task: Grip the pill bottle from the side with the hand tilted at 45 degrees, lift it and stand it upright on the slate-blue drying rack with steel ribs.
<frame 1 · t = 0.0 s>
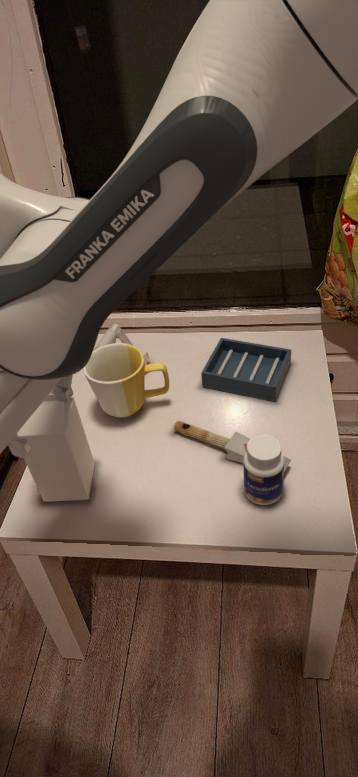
hand: (45, 424, 65), 21 cm above the table, tool pointing down, fingers open, 8 cm apart
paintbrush: (229, 450, 87), on the table
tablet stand: (123, 374, 103), on the table
drying rack: (247, 375, 100), on the table
pill bottle: (263, 491, 81), on the table
milk carton: (70, 483, 85), on the table
mug: (133, 408, 96), on the table
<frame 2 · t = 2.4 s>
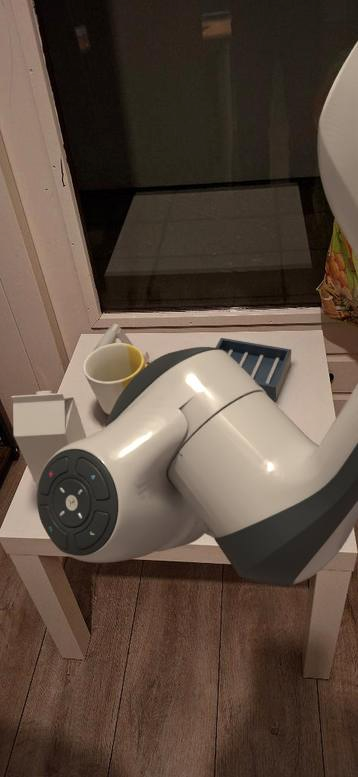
hand: (215, 495, 62), 15 cm above the table, tool tilted 40°, fingers open, 8 cm apart
nothing on the table moved.
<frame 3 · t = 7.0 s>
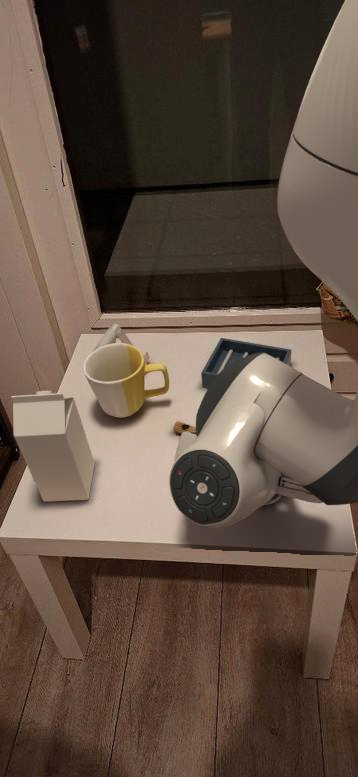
hand: (264, 464, 77), 5 cm above the table, tool tilted 45°, fingers closed on pill bottle, 6 cm apart
pill bottle: (263, 491, 81), on the table, touching gripper
everything else where it was.
when the fingers open (7 cm above the table, at t = 16.0 s): pill bottle stays where it is, resting on drying rack.
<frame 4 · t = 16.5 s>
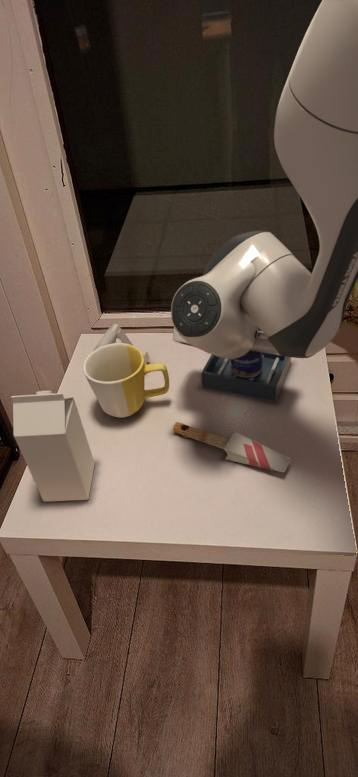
hand: (247, 342, 95), 7 cm above the table, tool tilted 45°, fingers open, 8 cm apart
pill bottle: (246, 369, 99), point 1 cm above the table, touching drying rack
everything else where it was.
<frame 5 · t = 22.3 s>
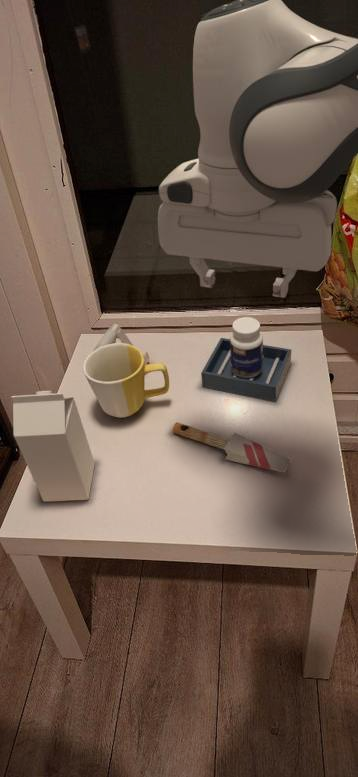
hand: (243, 289, 68), 29 cm above the table, tool pointing down, fingers open, 8 cm apart
nothing on the table moved.
at the end: pill bottle inside the target area on the drying rack (0.0 cm from its centre), point 1.4 cm above the drying rack's base; pill bottle tilted 0°; the gripper is holding nothing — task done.
